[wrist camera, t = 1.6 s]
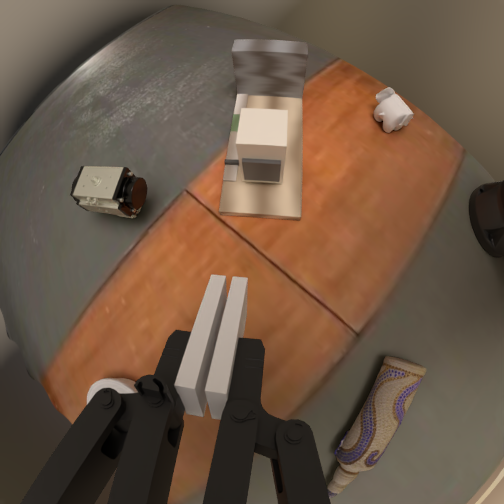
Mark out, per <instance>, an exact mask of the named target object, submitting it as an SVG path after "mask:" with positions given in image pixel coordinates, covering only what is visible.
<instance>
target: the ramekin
mask: <svg viewBox="0 0 504 504" xmlns="http://www.w3.org/2000/svg"><path fill="white" fill-rule="evenodd" d="M135 383H136V382H134V381H132V380H130V379H125V378H104V379H101V380H99V381H97V382H95V383H94V384H93V385H92V386H91V387H90V389H89V391H88V395H87V404H88V403H89V401H90V400H91V399H92V397H93V396H94V395H95V393H96V392H97V391H99V390H100V389H102V388H112V389H115V390H116V391H117V392H118V393H137V392H138V391H137V390H136V388H135V387H134V384H135Z"/></svg>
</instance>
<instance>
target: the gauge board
mask: <svg viewBox="0 0 504 504" xmlns="http://www.w3.org/2000/svg"><path fill="white" fill-rule="evenodd" d="M232 58H233V65H234V72H235V80H236V87H237V99H236V104H235V110H234V114H233V119H232V125H231V131H230V132H231V133H230V139H229V144H228V151H227V157H226V159H231V160H239V159H238V153H237V148H236V139H237V132H238V126H239V119H240V113H241V108H258V109H277V110H288V120H287V148H286V157H285V166H284V175H283V183H282V184H278V183H264V182H247V181H242V176H241V170H240V165H239V164H225V169H224V176H223V186H222V193H221V200H220V207H219V213H220V215H230V216H246V217H260V218H274V219H287V220H299V221H300V219H301V208H302V158H303V127H302V95H303V88H304V81H305V73H306V66H307V58H308V50H307V43H305V42H295V41H282V40H235V41H234V45H233V48H232Z"/></svg>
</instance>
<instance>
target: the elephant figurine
mask: <svg viewBox="0 0 504 504" xmlns="http://www.w3.org/2000/svg"><path fill="white" fill-rule="evenodd" d="M376 100H377V101H378V102H379V103H380V104H379V105H378V106H377V107H376V108H375V110H374V118H375V119H376V121H378V122H381V121H382V120H383V130H384V131H385V132H387V133H390V132H391V131H392V130H399V129H400V128H401V127H402V126H403V125H404V126H407V125H408V123H409V121H410V120H411V118H412V116H413V115H414V114H413V113H412V111H411V110H410V109H409V107H408V106H407V105H406V104H405V103H404V102H403V100H402V99H401V98H400V97H399V96H398V95H396V94H395V92H394V90H393V89H392V88H389V87H388V88H386V89H384V90H383V91H381V92H380V93H378V94H376ZM412 119H413V118H412Z"/></svg>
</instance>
